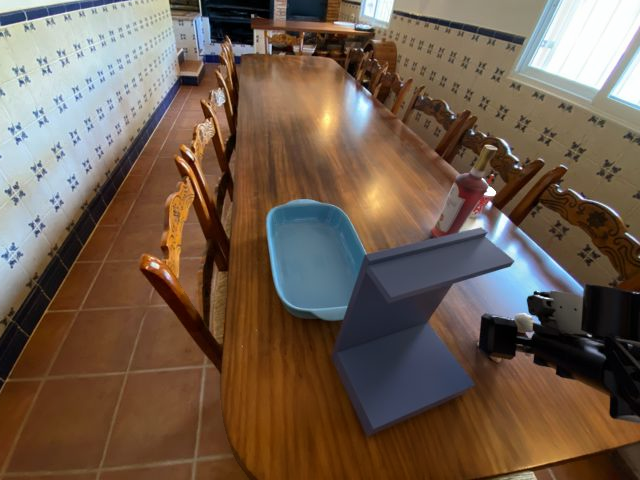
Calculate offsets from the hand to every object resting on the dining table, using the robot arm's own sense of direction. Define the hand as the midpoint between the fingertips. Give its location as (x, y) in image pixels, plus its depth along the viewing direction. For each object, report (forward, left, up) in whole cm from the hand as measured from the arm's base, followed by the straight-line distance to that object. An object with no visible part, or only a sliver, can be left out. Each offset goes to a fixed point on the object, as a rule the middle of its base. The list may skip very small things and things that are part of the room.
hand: (508, 329), depth 55 cm
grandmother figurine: (-1, +1, -7) cm, 7 cm away
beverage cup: (+36, -31, -7) cm, 48 cm away
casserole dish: (+30, +26, -7) cm, 40 cm away
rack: (+1, +22, -7) cm, 23 cm away
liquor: (+29, -13, -7) cm, 33 cm away
